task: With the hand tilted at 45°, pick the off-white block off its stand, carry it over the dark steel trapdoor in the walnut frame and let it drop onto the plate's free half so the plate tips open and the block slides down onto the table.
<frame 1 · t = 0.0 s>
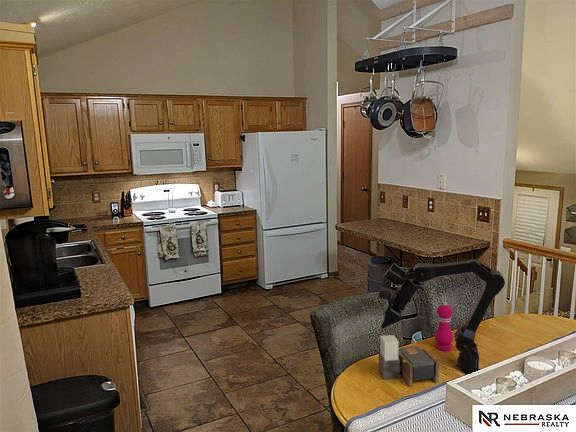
hand: (383, 322, 174), 15 cm above the table, tool tilted 35°, fingers open, 9 cm apart
pepper mill: (443, 348, 184), on the table
off-white block: (389, 356, 163), point 7 cm above the table, touching stone stand
trapdoor frame: (418, 379, 160), on the table
stone stand: (389, 374, 164), on the table
trapdoor: (415, 362, 162), point 5 cm above the table, hinge at 0.0°
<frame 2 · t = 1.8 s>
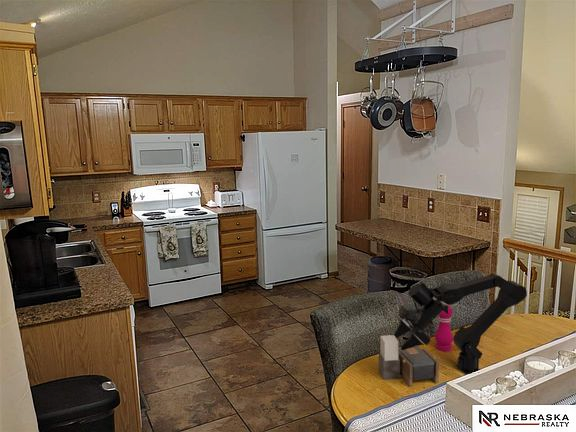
hand: (397, 343, 163), 12 cm above the table, tool tilted 45°, fingers open, 9 cm apart
nothing on the table moved.
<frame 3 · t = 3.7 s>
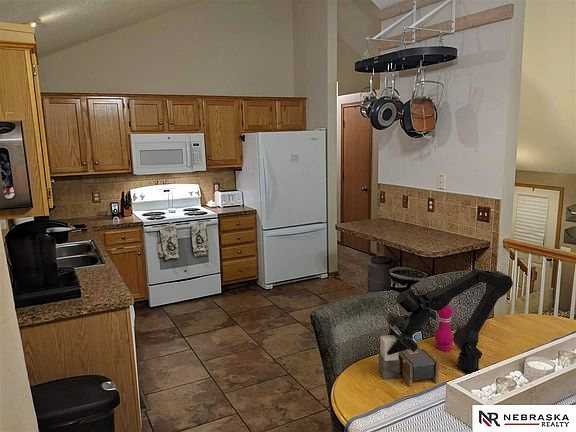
hand: (385, 350, 163), 10 cm above the table, tool tilted 45°, fingers closed on off-white block, 5 cm apart
off-white block: (389, 356, 163), point 7 cm above the table, touching gripper, stone stand
everything else where it was.
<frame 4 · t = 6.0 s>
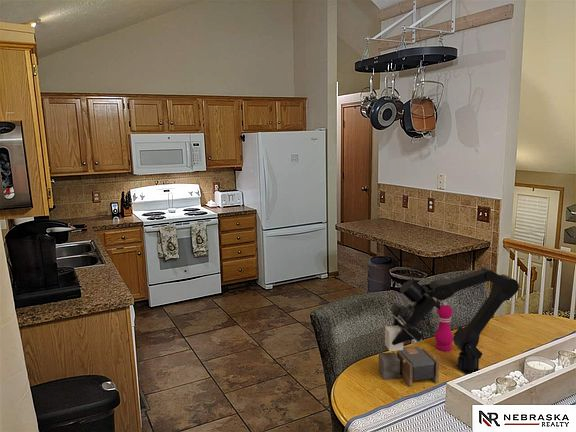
hand: (390, 340, 163), 13 cm above the table, tool tilted 45°, fingers closed on off-white block, 5 cm apart
off-white block: (394, 347, 163), point 11 cm above the table, touching gripper
everything else where it was.
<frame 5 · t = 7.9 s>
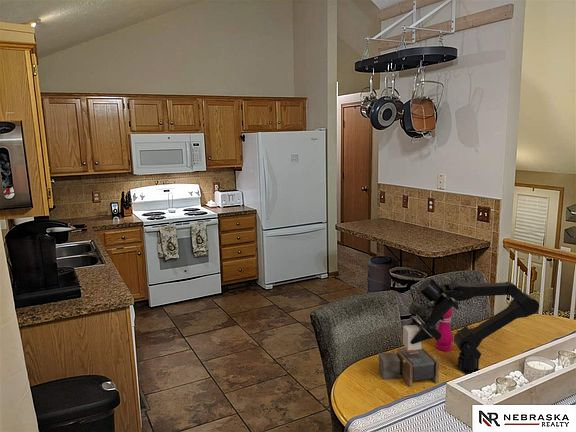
hand: (408, 339, 164), 12 cm above the table, tool tilted 45°, fingers closed on off-white block, 5 cm apart
off-white block: (412, 346, 165), point 10 cm above the table, touching gripper
everything else where it was.
when the fingers open (12 cm above the table, at t = 8.7 s): off-white block drops 3 cm, resting on trapdoor.
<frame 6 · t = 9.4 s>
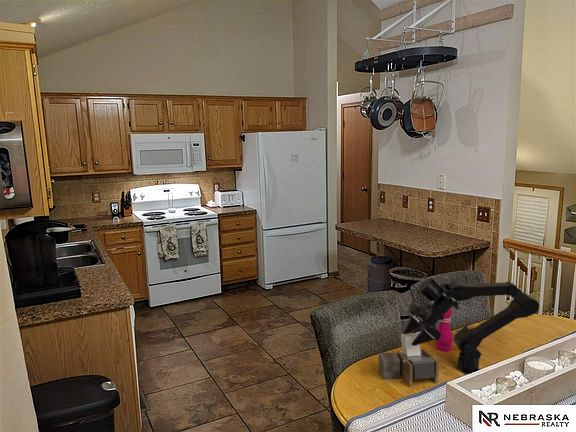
hand: (408, 339, 164), 13 cm above the table, tool tilted 45°, fingers open, 9 cm apart
off-white block: (411, 354, 165), point 7 cm above the table, tilted 14°, touching gripper, trapdoor
trapdoor: (416, 364, 162), point 4 cm above the table, hinge at -13.7°, touching off-white block
everything else where it was.
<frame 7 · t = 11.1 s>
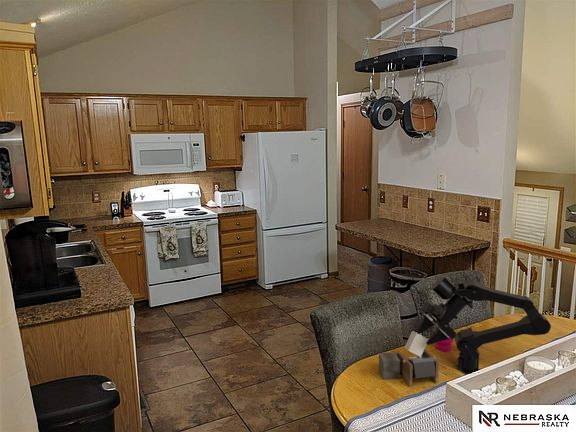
hand: (422, 338, 165), 13 cm above the table, tool tilted 45°, fingers open, 9 cm apart
off-white block: (412, 352, 166), point 7 cm above the table, tilted 32°, touching gripper, trapdoor
trapdoor: (417, 366, 161), point 4 cm above the table, hinge at -22.7°, touching off-white block
everything else where it was.
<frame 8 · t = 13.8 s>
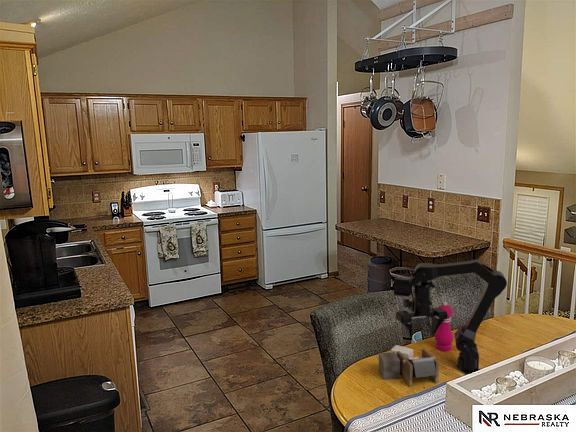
hand: (421, 336, 170), 11 cm above the table, tool pointing down, fingers open, 9 cm apart
off-white block: (410, 358, 171), point 3 cm above the table, tilted 90°
trapdoor: (417, 366, 161), point 4 cm above the table, hinge at -26.0°
everything else where it was.
at the end: off-white block point 2.6 cm above the table; off-white block touching table; the gripper is holding nothing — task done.
